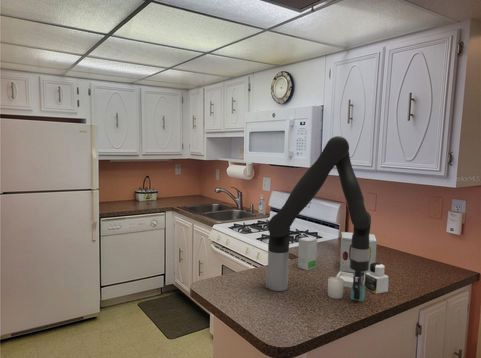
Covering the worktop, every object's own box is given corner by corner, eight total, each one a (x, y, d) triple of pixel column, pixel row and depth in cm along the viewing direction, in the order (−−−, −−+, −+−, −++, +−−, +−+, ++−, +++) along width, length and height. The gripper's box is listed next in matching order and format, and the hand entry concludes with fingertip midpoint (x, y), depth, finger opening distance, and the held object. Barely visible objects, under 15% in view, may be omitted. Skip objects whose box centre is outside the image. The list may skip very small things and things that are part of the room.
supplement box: (339, 271, 182) (341, 237, 180) (339, 263, 195) (341, 231, 193) (375, 275, 177) (377, 240, 176) (373, 267, 190) (374, 234, 188)
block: (350, 299, 149) (351, 287, 149) (352, 294, 154) (353, 283, 153) (363, 301, 147) (363, 290, 147) (364, 297, 152) (365, 285, 151)
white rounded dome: (326, 296, 151) (326, 280, 151) (329, 291, 157) (330, 276, 156) (341, 299, 148) (342, 283, 148) (344, 294, 154) (344, 278, 153)
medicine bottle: (364, 288, 161) (365, 262, 160) (376, 285, 164) (377, 260, 163) (375, 294, 155) (377, 267, 154) (388, 291, 157) (389, 265, 156)
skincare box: (306, 270, 183) (307, 241, 181) (296, 267, 188) (297, 238, 186) (316, 267, 188) (317, 238, 187) (306, 264, 193) (307, 236, 192)
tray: (334, 284, 165) (334, 279, 164) (339, 276, 175) (339, 271, 175) (361, 289, 159) (361, 284, 159) (364, 280, 170) (365, 275, 170)
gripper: (353, 252, 157) (351, 288, 158) (347, 261, 144) (345, 300, 146) (371, 254, 154) (369, 291, 155) (366, 264, 141) (364, 304, 142)
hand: (358, 295), depth 150 cm, fingers open, 7 cm apart
